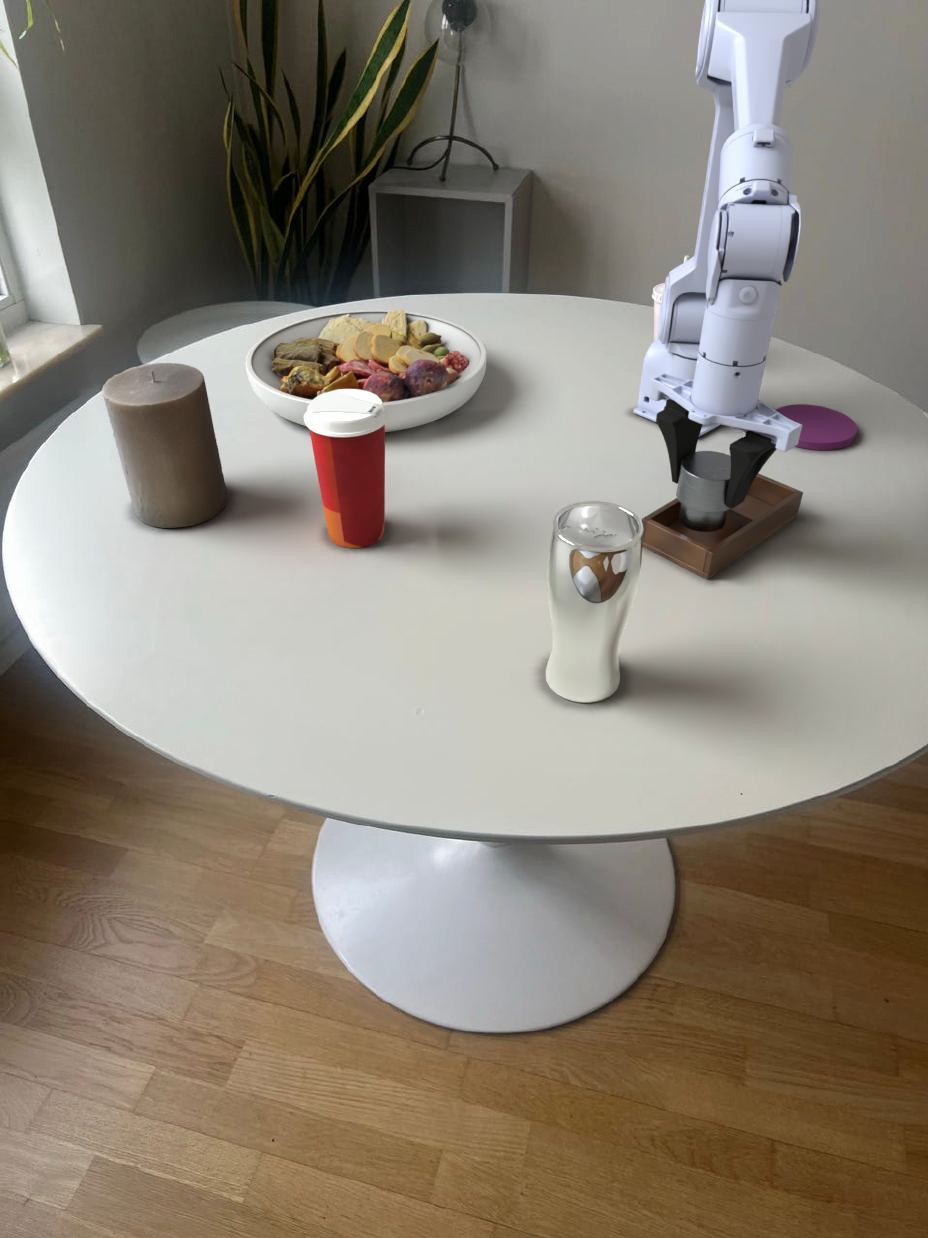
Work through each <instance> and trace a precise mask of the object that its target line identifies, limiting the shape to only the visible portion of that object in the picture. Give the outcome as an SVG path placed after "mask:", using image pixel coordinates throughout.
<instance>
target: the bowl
mask: <svg viewBox="0 0 928 1238" xmlns="http://www.w3.org/2000/svg"><path fill="white" fill-rule="evenodd" d="M487 356H488V354H487V348H486V345H485V344H484V342H483V341H482V339H481V338H480V337H479V336H478V335H477V334H475V332H473V331H471V330H470V329H468V328H467V327H465V326H464V325H461V324H460V323H457V322H455V321H454V322H453V321H452V320H449V319H446V318H443V317H439V316H436V315H431V314H427V313H421V312H414V311H407V310H402V309H401V310H393V309H357V310H345V311H337V312H330V313H325V314H319V315H314V316H311V317H306V318H302V319H300V320H296V321H293V322H290V323H288V324H285V325H283V326H280V327H278V328H275V329H274V330H272V331H270V332H268V333H266V334H265V335H264V336H262V337H261V338H260V339H258V340H257V341H256V342H255V343H254V344H253V345H252V346H251V347H250V349H249V350H248V352H247V355H246V357H245V369H246V376H247V379H248V381H249V385H250V387H251V389H252V390H253V392H254V394H255V395H256V397H257V398H258V399H259V400H260V401H261V403H262V404H264V406H266V407H267V408H268V409H270V410H271V411H272V412H274V413H275V414H277V415H278V416H280V417H282V418H284V419H285V420H288V421H290V422H293V423H295V424H298V425H301V426H304V427H307V426H306V424H305V420H304V415H305V413H306V412H307V407H308V405H309V404H310V403H311V401H312V400H313V399H314V398H316V397H317V396H319V395H321V394H323V393H326V392H330V391H334V390H339V389H358V390H364V391H368V392H371V393H373V394H375V395H377V396H378V397H379V398H380V399H381V401H382V403H383V406H384V408H385V409H386V411H387V413H388V420H387V422H386V423H385V433H388V432H396V431H401V430H407V429H412V428H415V427H419V426H423V425H427V424H429V423H431V422H435V421H436V420H439V419H442V418H444V417H446V416H448V415H450V414H451V413H453V412H455V411H456V410H458V409H459V408H461V407H462V406H463V405H464V404H466V403H467V402H468V401H469V400H470V399H472V397H473V396H474V395H475V394H476V392H477V391H478V389H479V388H480V386H481V384H482V382H483V380H484V377H485V373H486V370H487V359H488V357H487Z"/></svg>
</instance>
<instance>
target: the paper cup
mask: <svg viewBox="0 0 928 1238" xmlns="http://www.w3.org/2000/svg"><path fill="white" fill-rule="evenodd" d="M304 420H305V424H306V426H305V427H307V428H308V430H309V435H310V441H311V446H312V452H313V456H314V458H313V459H314V463H315V470H316V474H317V480H318V481H317V482H318V487H319V491H320V497H321V503H322V508H323V513H324V519H325V523H326V530H327V533H328V537H329V539H330V541H331V542H332V543H334V544H335V545H337V546H339V547H343V548H347V549H361V548H367V547H370V546H373V545H374V544H377V543H378V542H379V541H380V540H382V538H383V536H384V534H385V516H386V515H385V513H386V512H385V511H386V509H385V507H386V506H385V505H386V501H385V500H386V497H385V496H386V432H385V423H386V422H387V420H388V413H387V411H386V409H385V408H384V406H383V403H382V401H381V399H380V398H379V397H378V396H377V395H375V394H373V393H371V392H368V391H364V390H358V389H339V390H334V391H330V392H326V393H323V394H321V395H319V396H317V397H316V398H314V399H313V400H312V401H311V403H310V404H309V405H308V407H307V412H306V413H305V415H304Z"/></svg>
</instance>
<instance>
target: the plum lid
mask: <svg viewBox="0 0 928 1238" xmlns="http://www.w3.org/2000/svg"><path fill="white" fill-rule="evenodd" d="M775 410H776V411H777V412H779V413H780V414H782V415H783V416H785V417H787V418H788V419H790V420H792V421H794V422H797V423H799V424H802V429H801V433H800V437H799V441H798V445H796V446H795V447H796V448H801V449H806V450H813V451H832V450H833V451H834V450H839V449H843V448H846V447H848V446H849V445H851V444H852V443H853V442H854V441H855V439H856V436H857V433H858V426H857V424H856V422H855V421H854V420H853V419H852V418H851V417H850V416H848V415H846V414H845V413H842V412H840V411H837V410H836V409H833V408H830V407H826V406H822V405H816V404H805V403H803V404H802V403H799V404H796V403H795V404H788V405H787V404H786V405H783V406H780V407H778V408H776V409H775Z"/></svg>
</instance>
